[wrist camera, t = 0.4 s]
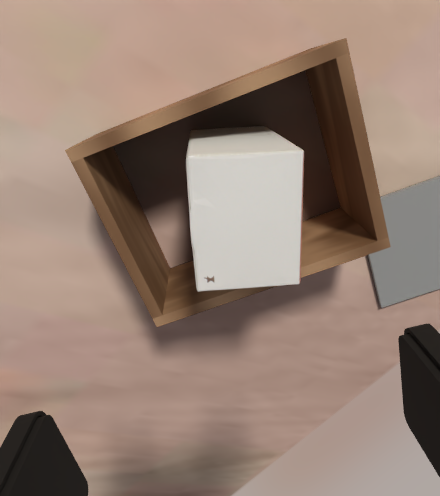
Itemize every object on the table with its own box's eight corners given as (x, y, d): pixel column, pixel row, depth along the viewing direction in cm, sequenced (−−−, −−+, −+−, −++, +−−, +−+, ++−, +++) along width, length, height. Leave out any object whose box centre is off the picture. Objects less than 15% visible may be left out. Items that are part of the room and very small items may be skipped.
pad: (467, 165, 34) (471, 166, 34) (480, 272, 38) (483, 274, 38) (355, 205, 35) (357, 207, 35) (379, 305, 39) (381, 307, 39)
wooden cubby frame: (310, 48, 30) (346, 38, 23) (351, 212, 36) (390, 247, 28) (96, 134, 32) (65, 150, 25) (165, 278, 37) (156, 327, 30)
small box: (267, 217, 35) (302, 288, 23) (196, 222, 35) (194, 295, 23) (267, 123, 32) (306, 148, 20) (189, 127, 32) (182, 155, 20)
